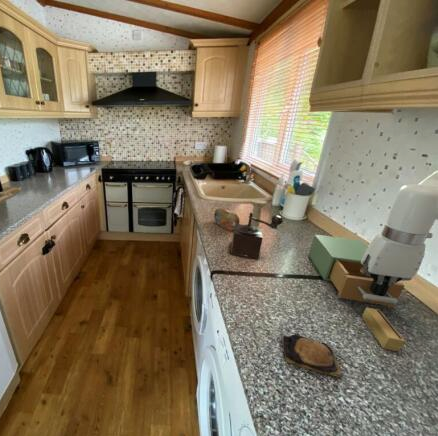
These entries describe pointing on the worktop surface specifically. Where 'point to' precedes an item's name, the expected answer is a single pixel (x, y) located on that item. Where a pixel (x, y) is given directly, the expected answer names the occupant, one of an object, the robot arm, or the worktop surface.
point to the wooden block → (382, 329)
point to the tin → (226, 218)
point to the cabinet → (334, 252)
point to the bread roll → (310, 355)
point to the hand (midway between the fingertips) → (376, 294)
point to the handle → (257, 210)
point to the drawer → (360, 284)
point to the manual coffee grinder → (250, 237)
